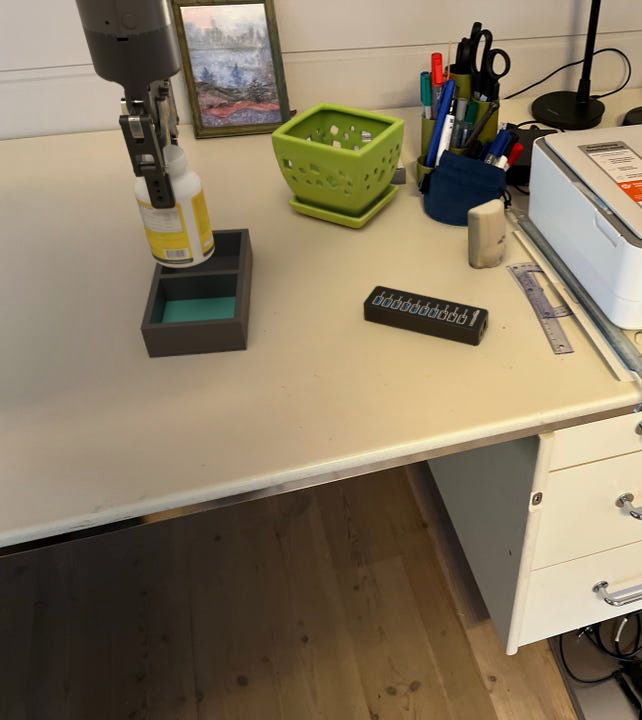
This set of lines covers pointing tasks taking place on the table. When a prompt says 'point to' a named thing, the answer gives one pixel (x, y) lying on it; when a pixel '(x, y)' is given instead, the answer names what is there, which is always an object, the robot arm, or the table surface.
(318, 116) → the flower pot
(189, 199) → the pill bottle
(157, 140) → the robot arm
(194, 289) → the dark grey divided tray
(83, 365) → the table surface
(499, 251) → the cream tall rounded block
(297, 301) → the table surface
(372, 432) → the table surface
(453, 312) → the multiport hub
